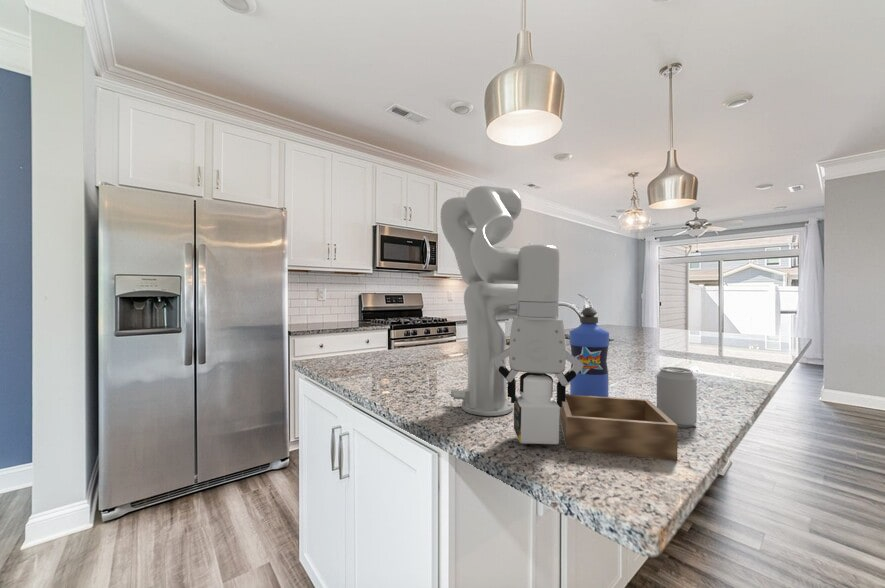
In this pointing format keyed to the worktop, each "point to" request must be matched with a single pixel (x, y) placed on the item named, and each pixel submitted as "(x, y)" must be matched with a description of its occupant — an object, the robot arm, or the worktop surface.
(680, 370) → the can
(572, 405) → the crate
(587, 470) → the worktop surface
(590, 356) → the water bottle
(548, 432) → the medicine bottle
